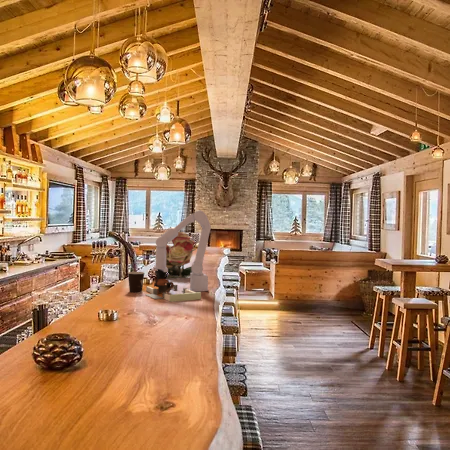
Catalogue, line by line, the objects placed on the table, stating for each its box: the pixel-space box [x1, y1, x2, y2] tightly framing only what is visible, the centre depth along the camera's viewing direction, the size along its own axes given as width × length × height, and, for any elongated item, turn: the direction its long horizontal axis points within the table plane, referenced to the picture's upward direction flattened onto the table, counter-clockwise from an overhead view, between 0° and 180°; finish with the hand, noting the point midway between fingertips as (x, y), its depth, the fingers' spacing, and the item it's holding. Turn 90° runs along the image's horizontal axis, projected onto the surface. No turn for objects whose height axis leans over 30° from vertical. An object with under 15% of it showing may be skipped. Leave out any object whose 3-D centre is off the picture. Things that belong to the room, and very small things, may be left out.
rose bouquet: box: [153, 231, 197, 279], centre depth 297 cm, size 26×29×30 cm
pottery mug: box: [153, 278, 175, 294], centre depth 236 cm, size 12×10×8 cm
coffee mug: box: [127, 271, 145, 294], centre depth 237 cm, size 12×9×10 cm
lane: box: [145, 284, 202, 303], centre depth 229 cm, size 24×31×3 cm
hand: (160, 283), depth 243 cm, fingers closed
